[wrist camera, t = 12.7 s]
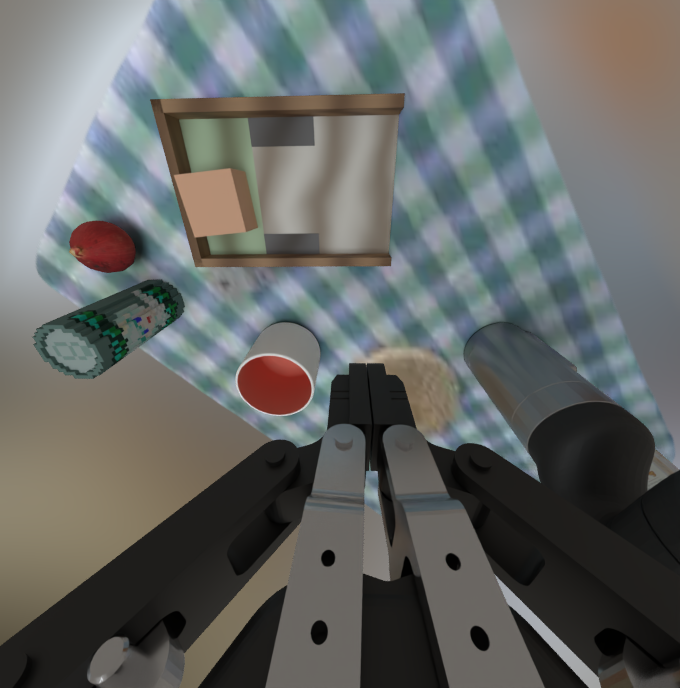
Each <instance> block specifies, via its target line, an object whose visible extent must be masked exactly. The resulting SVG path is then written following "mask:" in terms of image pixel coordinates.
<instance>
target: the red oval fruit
mask: <svg viewBox="0 0 680 688" xmlns="http://www.w3.org/2000/svg"><path fill="white" fill-rule="evenodd" d="M69 242H70V248H71V249H70V251H69V252H70V253H71V254H72V255H73V256H75V257H76V259H77V260H78V261H79V262H81V263H82V264H84V265H85V266H87V267H88V268H90V269H93V270H97V271H101V272H106V273H111V272H119V271H124V270H125V269H127V268H128V267H129V266H131V265H132V264H133V262H134V258H135V254H136V251H135V245H134V243H133V241H132V239H131V237H130V236H129V235H128V234H127V233H126V232H125V231H124V230H122V229H121V228H119V227H118V226H116V225H114V224H112V223H108V222H105V221H90V222H86V223H83V224H81V225H80V226H78V227H77V228H76V229H75V230H74V231H73V232H72V235H71V238H70V241H69Z"/></svg>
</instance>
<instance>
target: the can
mask: <svg viewBox="0 0 680 688" xmlns="http://www.w3.org/2000/svg"><path fill="white" fill-rule="evenodd" d="M184 307H185V306H184V303H183V299H182V296H181V294H178V292H177V289H176V288H173V286H172V285H169V283H163V281H162V280H147V281H144V282H142V283H140V284H137V285H135V286H133V287H130V288H128V289H126V290H123V291H121V292H119V293H116V294H114V295H112V296H109V297H107V298H104V299H102V300H100V301H97V302H95V303H93V304H90V305H88V306H86V307H83V308H81V309H79V310H76V311H74V312H72V313H69V314H67V315H64V316H62V317H60V318H57V319H55V320H53V321H50V322H48V323H46V324H43V325H42V327H40V328H37V329H36V330H37V332H36V333H34V334H35V336H33V338H34V340H35V341H36V343H35V344H34V346H35V348H36V349H37V351H38V352H39V354H40V355H41V357H42V358H43V360H44V361H45V362H49V363H50V364H51V366H52V367H53V369H58V371H59V372H64V374H65V375H73V376H74V378H82V379H83V378H84V379H85V378H86V379H90V378H91V379H93V378H95V377H96V376H98V375H101V374H102V373H103V372H105V371H106V370H107V369H109V368H110V367H112V366H113V365H115V364H116V363H117V362H118V361H120V360H121V359H123V358H124V357H125V356H127V355H128V354H130V353H131V352H132V351H134V350H135V349H136V348H138V347H139V346H141V345H142V344H143V343H145V342H146V341H148V340H149V339H150V338H152V337H153V336H154V335H156V334H157V333H159V332H160V331H161V330H163V329H164V328H166V327H167V326H168V325H170V324H171V323H172V322H174V321H175V320H177V319H178V318H179V317H180V315H182V313H183V312H184V311H183V308H184Z"/></svg>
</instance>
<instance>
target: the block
mask: <svg viewBox="0 0 680 688" xmlns="http://www.w3.org/2000/svg"><path fill="white" fill-rule="evenodd" d="M174 177H175V180H176V183H177V186H178V189H179V192H180V195H181V198H182V201H183V204H184V207H185V210H186V213H187V216H188V219H189V222H190V225H191V228H192V231H193V234H194V237H204V236H213V235H223V234H233V233H242V232H248V231H251V230H253V229H256V228H258V225H257V221H256V216H255V212H254V208H253V203H252V199H251V194H250V190H249V186H248V181H247V177H246V172H245V171H240V170H236V169H232V168H228V169H220V170H211V171H203V172H195V173H187V174H179V175H174Z"/></svg>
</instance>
